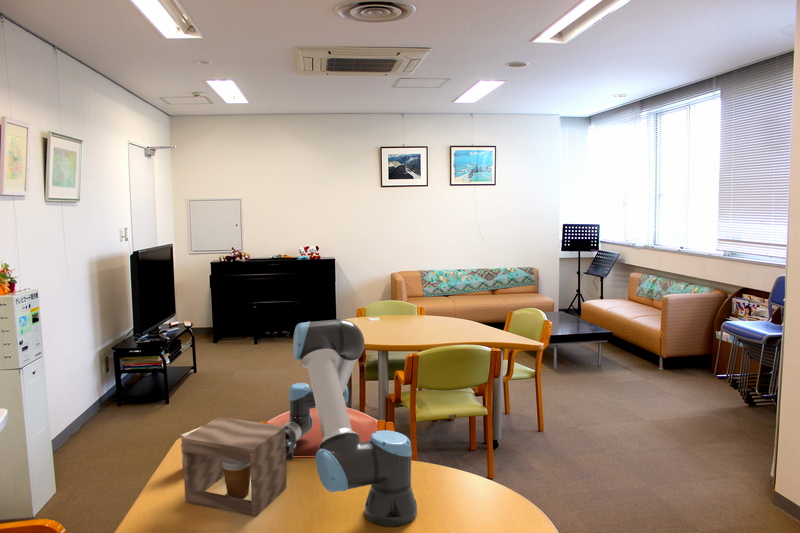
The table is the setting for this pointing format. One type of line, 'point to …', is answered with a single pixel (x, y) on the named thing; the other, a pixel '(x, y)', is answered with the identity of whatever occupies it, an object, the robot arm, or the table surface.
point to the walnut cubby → (238, 444)
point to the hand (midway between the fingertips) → (252, 462)
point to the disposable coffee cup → (236, 477)
